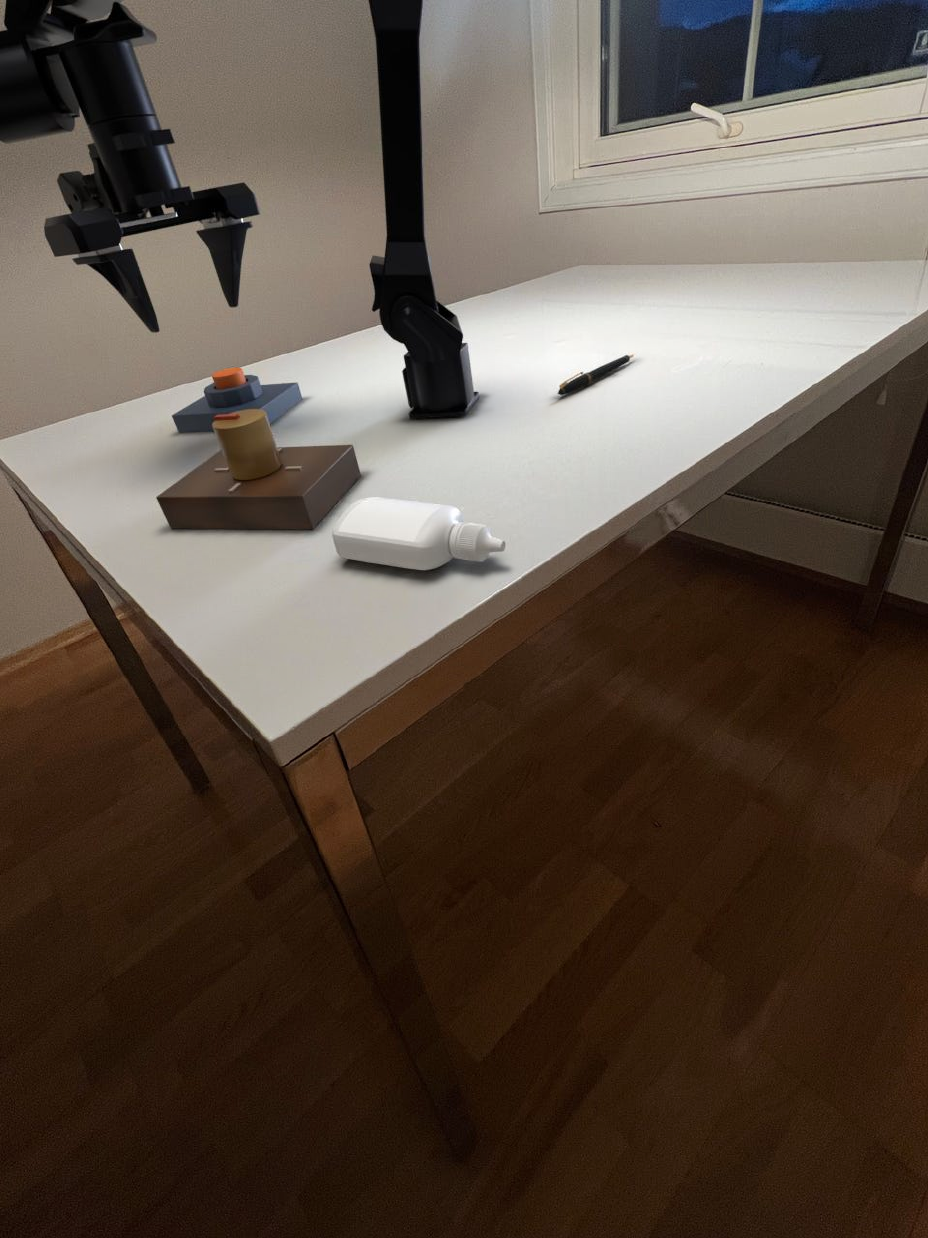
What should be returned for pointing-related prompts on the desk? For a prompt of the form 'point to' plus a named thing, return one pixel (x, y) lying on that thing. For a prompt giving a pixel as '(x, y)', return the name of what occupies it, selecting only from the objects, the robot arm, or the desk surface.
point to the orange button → (229, 378)
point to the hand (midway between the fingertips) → (196, 318)
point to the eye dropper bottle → (410, 534)
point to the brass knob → (247, 443)
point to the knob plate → (263, 491)
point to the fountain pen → (591, 376)
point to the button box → (237, 403)
